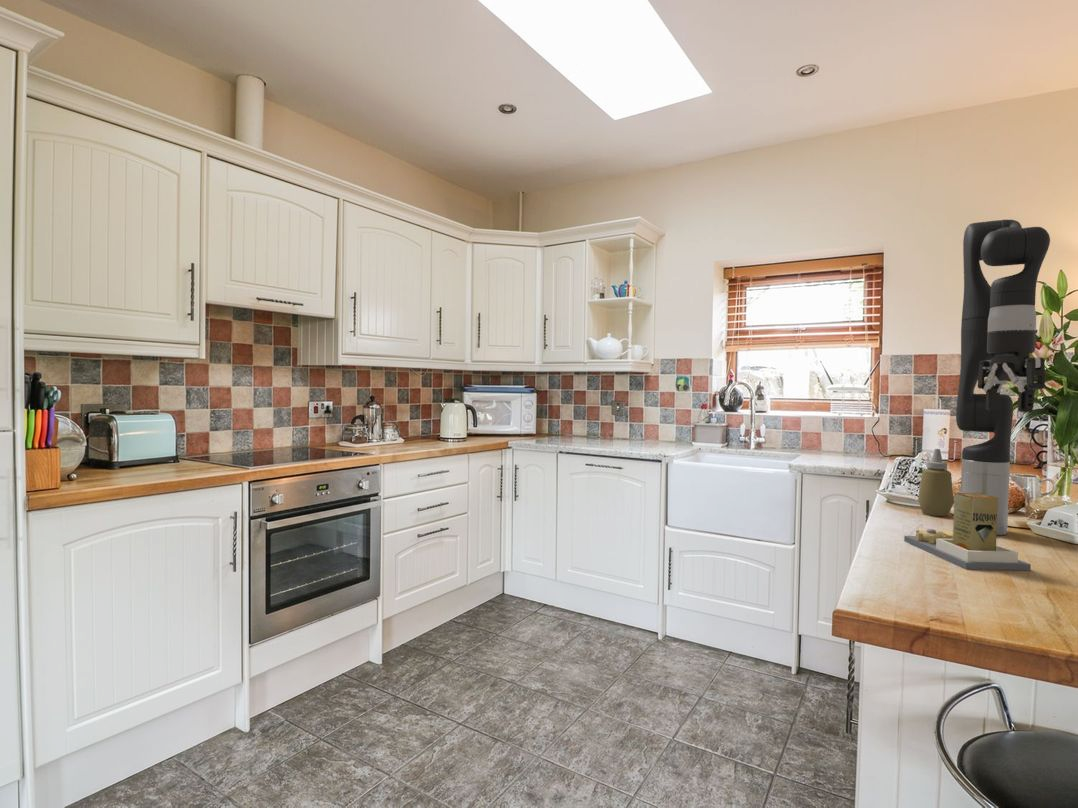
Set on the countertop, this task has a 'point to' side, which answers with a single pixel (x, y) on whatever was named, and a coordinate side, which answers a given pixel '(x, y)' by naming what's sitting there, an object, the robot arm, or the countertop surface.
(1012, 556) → the square socket
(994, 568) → the gear board
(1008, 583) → the countertop surface
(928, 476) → the squeeze bottle
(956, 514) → the shoe polish box
